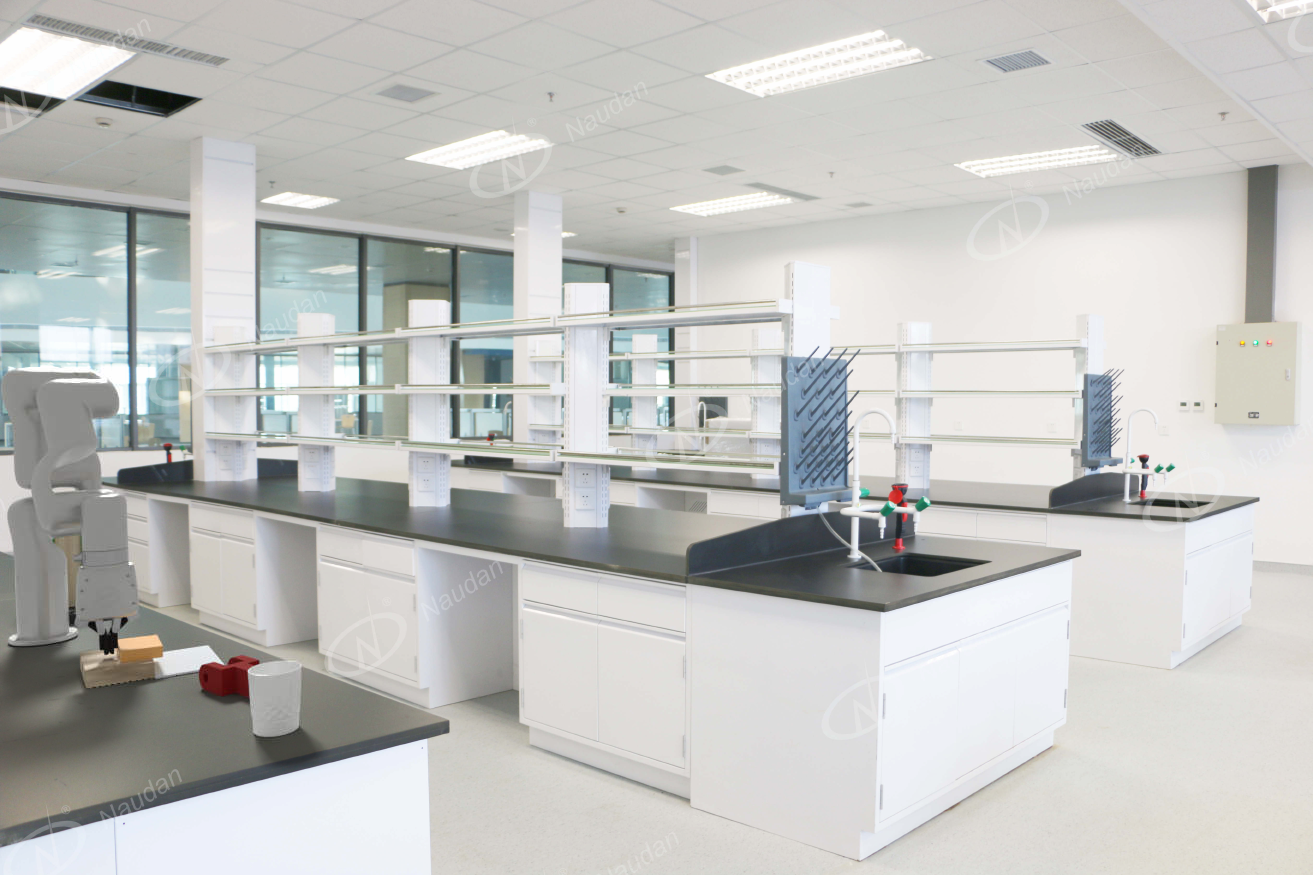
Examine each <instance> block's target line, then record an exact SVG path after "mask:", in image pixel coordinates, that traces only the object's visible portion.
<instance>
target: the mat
mask: <svg viewBox="0 0 1313 875" xmlns="http://www.w3.org/2000/svg"><path fill="white" fill-rule="evenodd" d="M153 660H154V663H155V678H154V679H155V680H157V679H164V678H165V679H166V678H172V677H176V675H177V676H182V675H188V673H189V674H196V673H199V669H200V667H201V666H202V665H203V664H207V663H211V662H216V663H220V664H223V665H225V663H224V662H223V661H222V660H221V659H220V658H219V656H218V655H217V654H216V653H215V651H214V650H213V649H212V648H211V646H209V645H202V646H201V645H200V646H194V647H188V648H181V649H174V650H173V649H172V650H167V651H163V657H160V658H153Z"/></svg>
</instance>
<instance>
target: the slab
mask: <svg viewBox="0 0 1313 875" xmlns="http://www.w3.org/2000/svg"><path fill="white" fill-rule="evenodd" d="M163 652H164V645H163V644H162V642H161V640H160V638H159V636H158V634H152V635H145V636H136V637H135V636H134V637H128V638H127V637H126V638H120V639H119V638H118V648H117V653H118V656H119V659H120V662H121V663H123V662H131V661H138V660H145V659H153V658H160V657H163Z"/></svg>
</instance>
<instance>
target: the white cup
mask: <svg viewBox="0 0 1313 875" xmlns="http://www.w3.org/2000/svg"><path fill="white" fill-rule="evenodd" d="M248 682H249V695H250V698H249V705H250V714H251V718H252V719H251V720H252V732H253V734H254V735H255V736H257V737H262V738H270V737H271V738H273V737H274V738H275V737H280V736H285V735H289V734H291V733H293V732H295V731H296V730H298V729H299V728H300V727H299V725H300V711H301V701H302V700H301V696H302V663H301V662H299V661H295V660H273V661H267V662H263V663H260V664H258V665H256V666H253V667H251V668H250V669H249V670H248Z"/></svg>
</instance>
